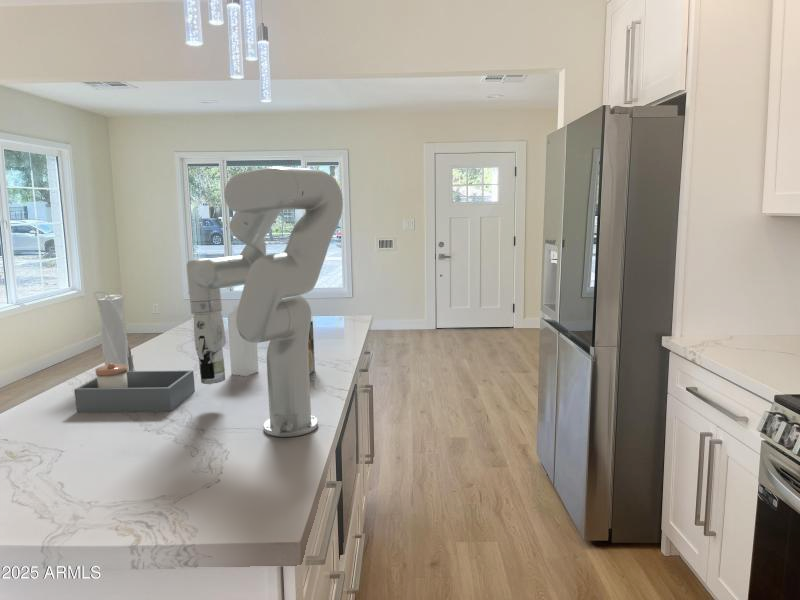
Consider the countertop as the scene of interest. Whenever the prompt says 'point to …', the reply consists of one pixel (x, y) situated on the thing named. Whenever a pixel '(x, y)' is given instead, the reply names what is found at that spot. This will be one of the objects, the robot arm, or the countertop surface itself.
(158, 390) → the tote
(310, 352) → the coffee box
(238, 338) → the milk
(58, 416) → the countertop surface
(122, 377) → the lidded jar
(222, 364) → the grey green cylinder
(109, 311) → the skyscraper
